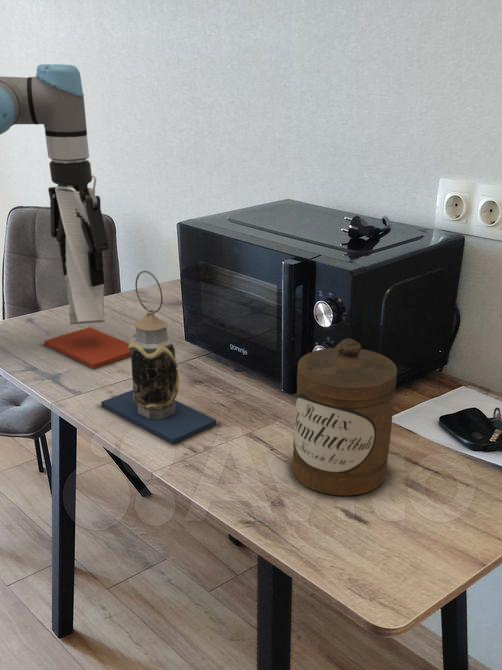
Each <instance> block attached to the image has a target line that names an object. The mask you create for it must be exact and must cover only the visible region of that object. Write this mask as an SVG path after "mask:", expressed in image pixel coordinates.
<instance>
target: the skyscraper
mask: <svg viewBox="0 0 502 670" xmlns="http://www.w3.org/2000/svg"><path fill="white" fill-rule="evenodd" d="M91 177H92V179H93V186H92V187H88V190H89V193H90V195H92V196H96V185H97V177H96V176H95V175H93V174H92V175H91ZM57 186H58V185H57ZM57 186H55V187H56V188H55V191H56V196H57V201H58V205H59V210H60V214H61V219H62V223H63V227H64V230H65V234H66V254H65V256H66V263H65V265H66V269H67V275H66V276H64V277H65V282H66V287H67V296H66V297H67V301H68V305H69V323H70V325H83V324H84V325H85V324H97V323H99V324H100V323H106V318H105V313H104V307H105V292H104V291H105V287H104V285H105V284H102V285H98V286H94V287H93V286H91V279H90V270H89V261H88V253H87V252H88V251H90V249H89V247H88V244H87V241H86V238H85V236H84V233H83V230H82V227H81V225H82V222H81V223H80V221H81V220H80V217H76V215H77V214H76V212H79V213H80V214H79V215H80V216H81V215H82V218H84V219H85V222H88V225H89V226H90V224H89V220H88V216H87V210H86V206H85V203H86V201H85V200H84V202H81V198H80V195H79V193H80V192H77V191H76V190H75V189H74V188H73V186H72V185H67V187H65V186H58V187H57ZM58 189H59V190H58ZM76 209H77V211H76Z"/></svg>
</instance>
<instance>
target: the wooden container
mask: <svg viewBox="0 0 502 670" xmlns="http://www.w3.org/2000/svg"><path fill="white" fill-rule="evenodd" d="M397 369H398V368H397V366H396V364H395V363H394V362H393V361H392V360H391V359H390V358H388V357H387V356H385V355H383V354H380V353H378V352H375V351H372V350H368V349H364V348H362V346H361V343H360V342H359V341H356V340H355V339H354V338H345V339H343V340H341V341H339V342H338V344H336V347H327V348H322V349H318V350H313V351H311V352H308V353H306V354H305V355H303V356H302V357H301V358H300V359H299V360H298V363H297V371H296V386H297V387H296V389H297V390H296V401H295V416H294V428H293V430H294V431H293V444H292V445H293V446H292V447H293V450H292V472H293V474H294V477H295V478H296V479H297V480H298V481H299V482H300V483H301V484H302V485H303V486H305V487H307V488H309V489H311V490H314V491H316V492H319V493H322V494H327V495H331V496H356V495H362V494H366V493H369V492H371V491H373V490H375V489H377V488H378V487H379V486H381V484H382V483H383V482H384V481H385V478H386V473H387V468H388V466H387V465H388V457H389V452H390V443H391V436H392V426H393V414H394V404H395V395H396V394H395V393H396V387H397V378H398V377H397V376H398V370H397Z"/></svg>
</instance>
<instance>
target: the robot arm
mask: <svg viewBox="0 0 502 670" xmlns="http://www.w3.org/2000/svg"><path fill="white" fill-rule="evenodd" d="M85 107H86V106H85V94H84V91H83V84H82V77H81V71H80V69H78V67H77V66H75V65H72V64H63V63H62V64H60V63H59V64H58V63H55V64H49V63H48V64H47V63H43V64H38V65H37V66H36V75H35V76H28V77H23V76H22V77H21V76H0V135H2V134H4V133H6V132H7V131H9V130H10V129H11V127H12V126H14V125H36V126H37V125H39V126H40V125H43V128H44V135H45V143H46V151H47V157H48V158H49V160H50V162H49V163H48V164H49V171H50V179H51V182H52V183H53V184H55V185H57V186H52V187H51V186H50V187H48V190H47V191H48V195H49V202H50V203H49V204H50V205H49V206H50V207H49V208H50V209H49V210H50V212H49V213H50V235H51V237H52V238H55V239H56V241H57V243H58V246H59V252H60V253H59V254H60V257H61V263H62V264H61V266H62V272H63V276H64V277H65V276H66V275H67V269H66V265H65V263H66V256H65V254H66V234H65V230H64V227H63V223H62V219H61V214H60V210H59V205H58V201H57V196H56V191H55V188H56V187H58V186H65V187H67V185H72V186H73V188H74V189H75V190H76V191H77V192H80V193H79V195H80V198H81V202H84V200H85V201H86V203H85V206H86V210H87V216H88V220H89V224H90V226H89V225H88V222H85V219H84V218H82V215H81V216H80V215H79V214H80V213H79V212H76V214H77V215H76V217H80V220H81V221H80V223H81V222H82V225H81V227H82V230H83V233H84V236H85V238H86V241H87V244H88V247H89V249H90V251H88V252H87V253H88V261H89V270H90V279H91V286H93V287H94V286H98V285H102V284H103V285H105V283H106V282H105V274H104V257H103V252H105V251H109V250H110V245H109V240H108V235H107V232H106V226H105V222H104V219H103V214H102V207H101V205H102V204H101V197H100V196H99V195H95V196H92V195H90V193H89V190H88V188H89V186H88V185H89V184H90V183H92V181H93V178H92V177H91V175H93V174H92V164H91V162H90V161H89V160H88V159H89V158H90V149H89V140H88V129H87V118H86V108H85ZM58 190H59V189H58ZM76 211H77V209H76Z"/></svg>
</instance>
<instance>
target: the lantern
mask: <svg viewBox="0 0 502 670" xmlns="http://www.w3.org/2000/svg"><path fill="white" fill-rule="evenodd" d="M143 273H145V274H146V273H147V274H148V275H150V276H151V277H152V278H153V279H154V280H155V282H156V284H157V286H158V288H159V292H160V304H159V307H158V308H157V309H156V310H153V309H152V308H150V309H148V308H147V307H146V306H145V305H144V303H143V302H142V300H141V298H140V294H139V292H138V280H139V277H140V276H141V274H143ZM134 286H135V288H134V289H135V293H136V296H137V300H138V301H139V303H140V305H141V306H142V308H143V309H144V310H145V311H146V313H145V314H146V315H145V316H144V317H143V318H141V319H139V320H137V321H136V322H134V324H133V326H134V328H135V334H134V335H133V336H132V337H130V341H129V342H128V344H129V346H128V350H131V356H130V360H131V376H132V377H131V378H132V390H133V393H134V394H133V398H134V400H135V402H136V403H137V405H138V413H139V414H141V415H143V416H145V417H147V418H149V419H163V418H165V417H167V416H170V415H172V414H174V413H175V409H176V403H175V400H176V398H177V397H178V394H179V387H180V374H179V371H178V367H179V366H178V363H177V359H176V349H175V347H174V345H173V342H174V337H171V336H169V335H168V330H167V328H168V326H169V323H168V322H167V321H165V320H163V319H160V318H159V317H158V316H157V315H155V313H157V312H159V311H160V310H161V308H162V306H163V298H164V297H163V290H162V287H161V284H160V282H159V280H158V279H157V277H156V276H155V275H154V274H153V272H150V271H148V270H142V271H140V272H138V274H137V276H136V278H135V285H134ZM131 348H132V349H131Z"/></svg>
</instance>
